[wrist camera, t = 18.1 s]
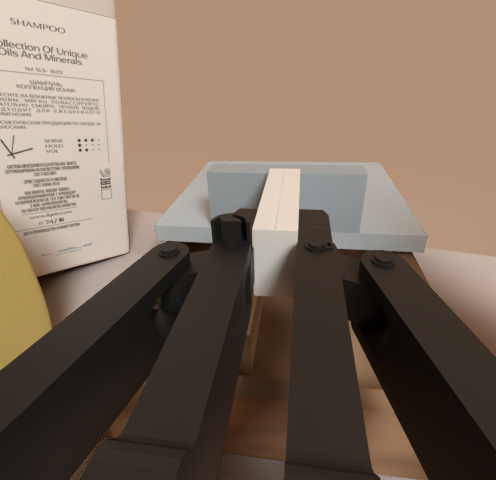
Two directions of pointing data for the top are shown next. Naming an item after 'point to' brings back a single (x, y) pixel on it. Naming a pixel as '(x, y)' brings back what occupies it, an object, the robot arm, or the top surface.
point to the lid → (301, 203)
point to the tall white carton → (62, 131)
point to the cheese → (18, 298)
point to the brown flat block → (277, 390)
